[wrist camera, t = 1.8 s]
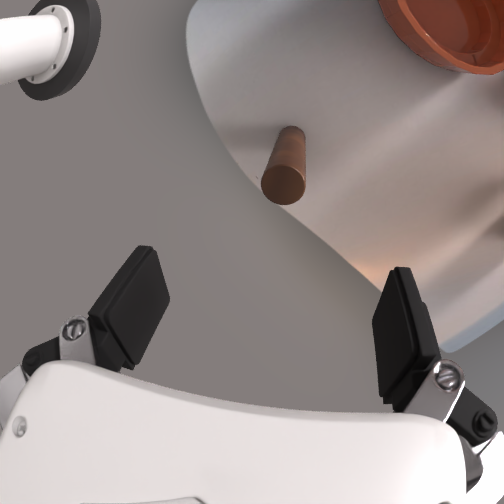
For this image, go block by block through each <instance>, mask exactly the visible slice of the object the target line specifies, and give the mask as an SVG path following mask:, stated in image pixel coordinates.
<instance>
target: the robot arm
mask: <svg viewBox="0 0 504 504" xmlns="http://www.w3.org/2000/svg"><path fill="white" fill-rule="evenodd" d="M73 36H74V22H73V18H72V15H71V13H70V11H69V10H68V9H67V8H66V7H64V6H61V5H52V6H48V7H46V8H44V9H42V10H41V11H39V12H38V13H37V14H36V15H33V16H23V17H14V18H5V19H0V85H3V84H6V83H9V82H12V81H16V80H19V79H22V78H26V79H27V80H28V81H29V82H31V83H34V84H40V83H44V82H47V81H49V80H51V79H52V78H53V77H54V76H55V75H56V74H57V73H58V72H59V71H60V70H61V68H62V67H63V65H64V63H65V61H66V59H67V58H68V55H69V52H70V50H71V46H72V42H73ZM169 302H170V296H169V292H168V289H167V286H166V283H165V279H164V276H163V273H162V269H161V266H160V262H159V259H158V255H157V252H156V251H155V250H154V249H153V248H152V247H151V246H141V245H140V246H138V247H137V248H136V249H135V250H134V251H133V253H132V254H131V255H130V256H129V258H128V259H127V260H126V262H125V263H124V264H123V265H122V267H121V268H120V269H119V271H118V272H117V273H116V275H115V276H114V277H113V279H112V280H111V282H110V283H109V284H108V285H107V287H106V288H105V290H104V291H103V292H102V294H101V295H100V297H99V298H98V299H97V301H96V302H95V304H94V305H93V306H92V308H91V309H90V311H89V312H88V315H89V317H88V318H87V319H86V318H85V317H83V316H74V317H71V318H69V319H68V320H66V321H65V322H64V323H63V325H62V326H61V328H60V331H59V336H58V337H56V338H54V339H51V340H49V341H47V342H45V343H42V344H40V345H38V346H35V347H33V348H31V349H30V350H29V351H28V352H27V353H26V354H25V356H24V358H23V361H22V366H21V365H20V364H18V365H17V366H16V367H14V368H13V369H12V370H11V371H10V372H8V373H7V374H6V375H5V376H4V377H2V378H1V379H0V425H1V428H2V433H1V436H0V504H495V503H496V502H497V501H498V500H499V499H500V498H501V497H502V496H503V494H504V436H503V435H502V433H501V432H499V433H498V432H497V431H496V430H497V424H498V422H497V417H496V414H495V412H494V411H493V410H492V409H491V408H490V407H489V406H487V405H486V404H485V403H484V402H483V401H481V400H480V399H479V398H478V397H476V396H475V395H474V394H473V393H472V392H471V391H469V390H468V389H467V388H466V387H464V382H465V379H464V373H463V371H462V369H461V367H460V366H459V365H458V364H457V363H455V362H453V361H452V360H448V359H443V360H442V359H441V355H440V351H439V347H438V343H437V340H436V336H435V332H434V329H433V325H432V322H431V319H430V316H429V312H428V309H427V306H426V304H425V303H424V302H422V300H421V297H420V294H419V291H418V288H417V285H416V283H415V280H414V277H413V274H412V272H411V269H410V268H408V267H395V268H394V270H391V271H390V272H389V275H388V278H387V281H386V284H385V286H384V289H383V292H382V295H381V298H380V300H379V303H378V305H377V308H376V310H375V313H374V316H373V319H372V327H373V335H374V343H375V351H376V361H377V372H378V386H379V395H380V397H383V404H392V405H393V410H394V412H393V413H346V412H320V411H304V410H292V409H282V408H273V407H265V406H257V405H250V404H243V403H238V402H232V401H226V400H220V399H215V398H210V397H205V396H201V395H196V394H191V393H187V392H183V391H179V390H175V389H171V388H167V387H163V386H159V385H156V384H152V383H149V382H146V381H142V380H139V379H136V378H132V377H129V376H126V375H123V374H121V373H120V369H121V367H124V368H127V369H130V370H133V369H134V367H135V365H137V364H139V363H140V361H141V359H142V357H143V355H144V353H145V350H146V348H147V346H148V344H149V342H150V340H151V338H152V336H153V334H154V332H155V330H156V328H157V326H158V324H159V322H160V320H161V318H162V316H163V314H164V312H165V310H166V308H167V306H168V304H169Z"/></svg>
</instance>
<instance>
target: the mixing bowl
mask: <svg viewBox="0 0 504 504" xmlns="http://www.w3.org/2000/svg"><path fill="white" fill-rule="evenodd" d="M378 2H379V4H380V6H381V9H382V11H383V14H384V16H385V19H386V20H387V22H388V23H389V25H390V26H391V27H392V29H393V30H394V32H395V33H396V35H397V36H398V37H399V38H400V39H401V40H402V41H403V42H404V43H405V44H406V45H407V46H408V47H409V48H410V49H411V50H412V51H413V52H414V53H416V54H417V55H418V56H420V57H422V58H423V59H425V60H426V61H428V62H430V63H431V64H433V65H435V66H438V67H441V68H444V69H447V70H450V71H455V72H464V73H471V74H482V75H494V74H496V73H498V72H500V71H503V70H504V0H378Z"/></svg>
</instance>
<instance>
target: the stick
mask: <svg viewBox="0 0 504 504" xmlns="http://www.w3.org/2000/svg"><path fill="white" fill-rule="evenodd" d="M305 187H306V148H305V134H304V132H303V131H302V130H301V129H300V128H298V127H296V126H287V127H285V128H283V129H282V130H281V131H280V133H279V136H278V138H277V141H276V143H275V146H274V148H273V151H272V153H271V156H270V158H269V161H268V164H267V166H266V169H265V171H264V174H263V176H262V179H261V188H262V191H263V193H264V195H265V196H266V197H267V198H268V199H269V200H270V201H272V202H274V203H276V204H279V205H289V204H292V203H295V202H296V201H298V200H299V199H300V198H301V197H302V196H303V194H304V192H305Z"/></svg>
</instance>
